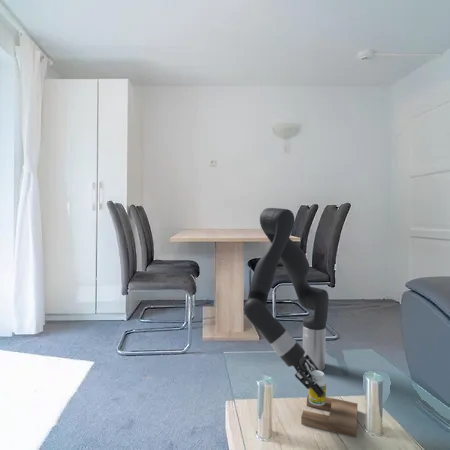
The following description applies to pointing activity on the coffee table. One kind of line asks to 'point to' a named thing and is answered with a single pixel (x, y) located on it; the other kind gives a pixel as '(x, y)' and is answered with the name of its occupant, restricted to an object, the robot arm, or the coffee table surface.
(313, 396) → the supplement bottle
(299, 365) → the robot arm
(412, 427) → the coffee table surface
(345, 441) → the coffee table surface
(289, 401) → the coffee table surface
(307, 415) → the notched board
